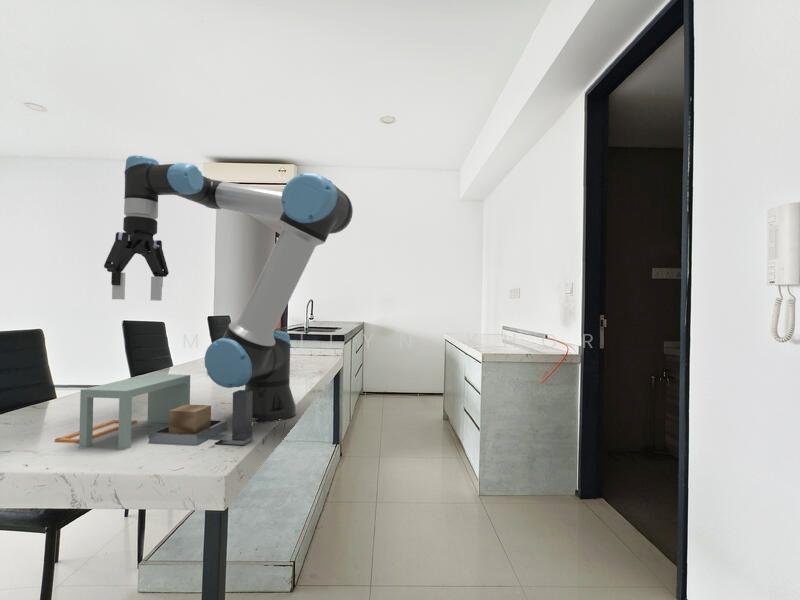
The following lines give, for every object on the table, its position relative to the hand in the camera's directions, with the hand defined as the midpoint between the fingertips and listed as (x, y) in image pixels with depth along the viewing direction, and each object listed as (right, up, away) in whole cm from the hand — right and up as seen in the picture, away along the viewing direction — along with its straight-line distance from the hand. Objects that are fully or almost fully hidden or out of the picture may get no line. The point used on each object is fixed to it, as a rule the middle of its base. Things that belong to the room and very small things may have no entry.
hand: (138, 300), depth 111 cm
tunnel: (+10, -31, -15) cm, 36 cm away
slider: (+25, -31, -17) cm, 43 cm away
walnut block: (+21, -30, -17) cm, 40 cm away
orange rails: (0, -31, -14) cm, 34 cm away
